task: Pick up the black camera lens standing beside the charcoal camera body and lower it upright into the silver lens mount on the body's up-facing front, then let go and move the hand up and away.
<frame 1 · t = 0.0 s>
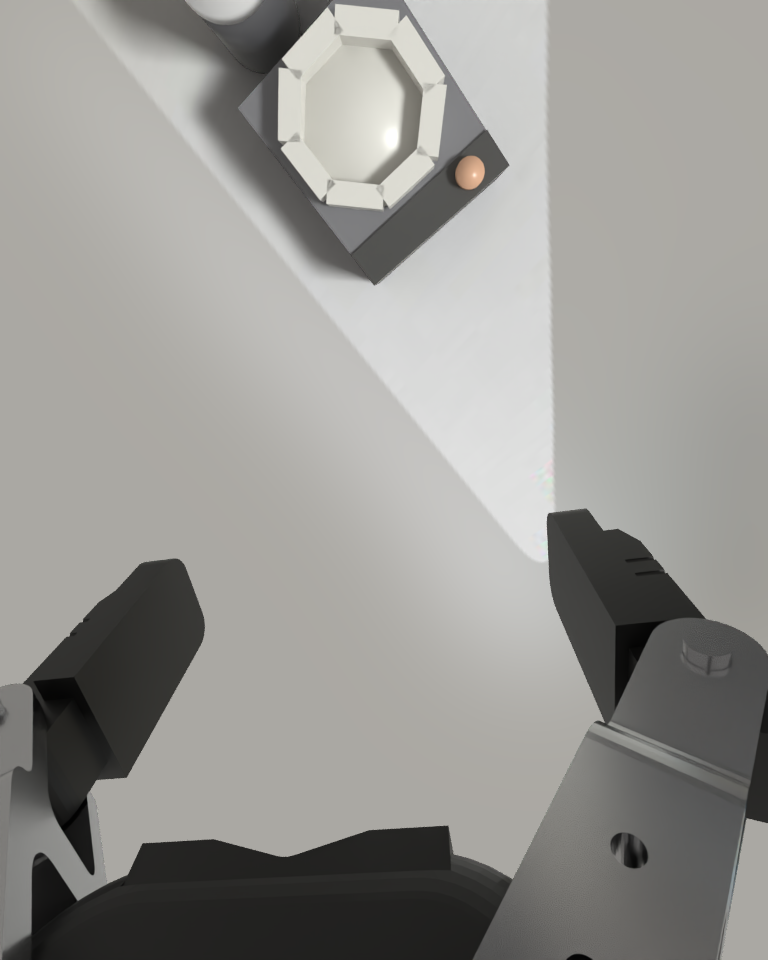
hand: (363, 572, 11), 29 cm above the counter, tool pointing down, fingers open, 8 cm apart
camera body: (379, 155, 33), on the counter
lens: (260, 24, 31), on the counter
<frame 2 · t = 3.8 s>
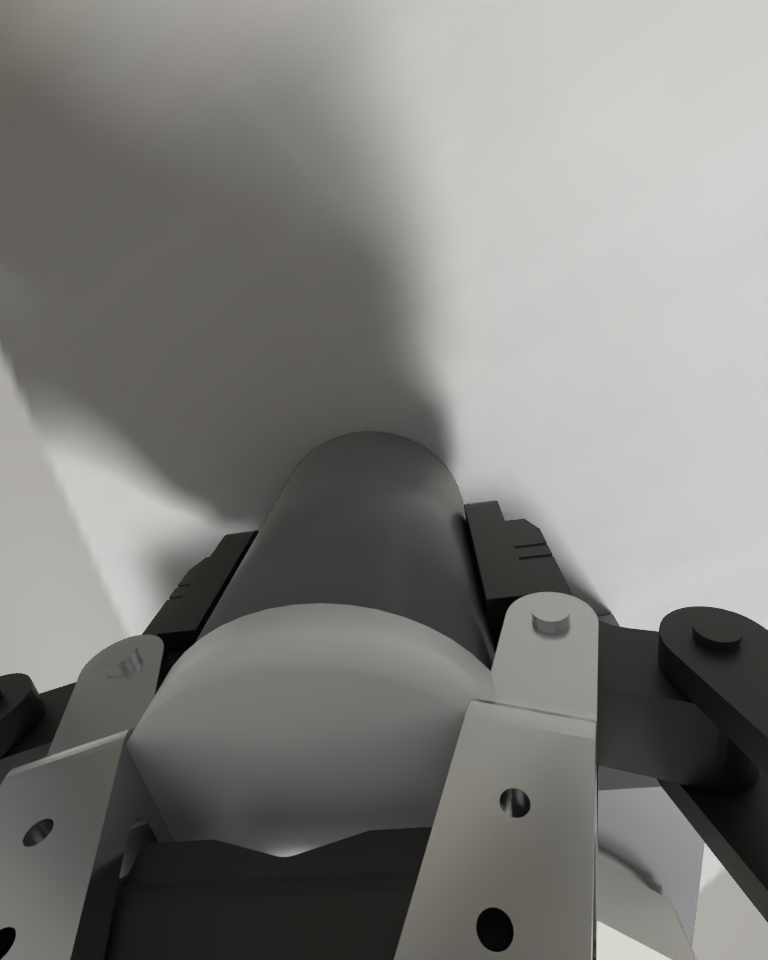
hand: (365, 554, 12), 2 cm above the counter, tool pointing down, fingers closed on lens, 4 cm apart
camera body: (457, 774, 17), on the counter
lens: (372, 518, 13), on the counter, touching gripper
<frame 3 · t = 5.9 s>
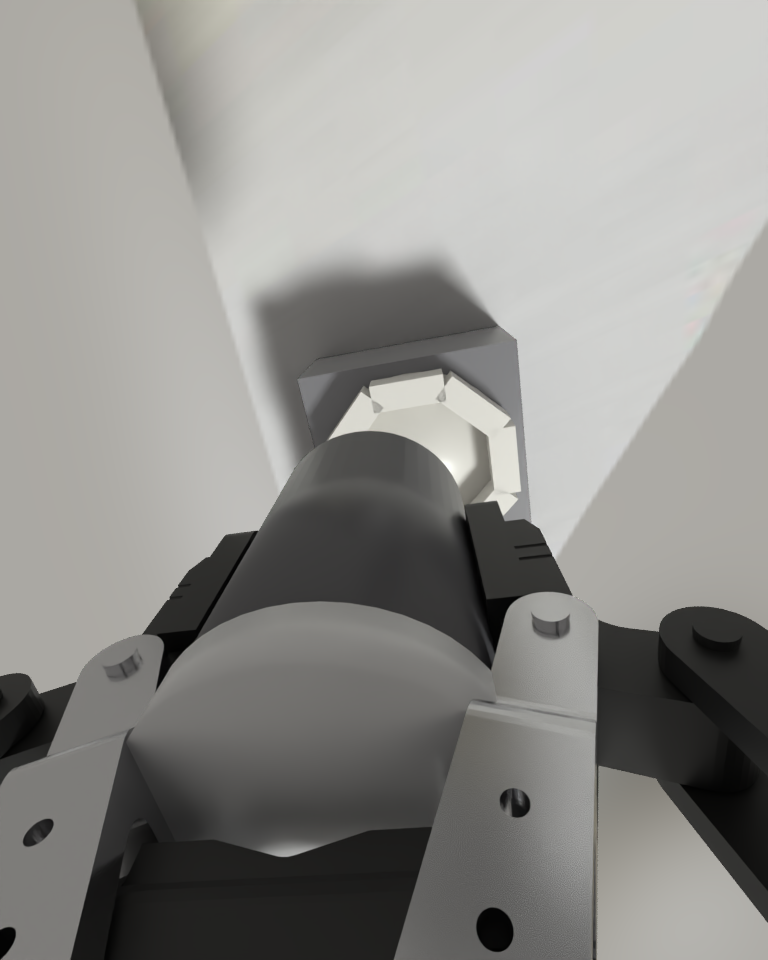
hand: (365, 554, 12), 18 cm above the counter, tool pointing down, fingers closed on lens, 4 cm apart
camera body: (422, 446, 29), on the counter
lens: (372, 517, 13), point 16 cm above the counter, touching gripper
when the fingers open (8 cm above the counter, at t = 8.2 s): lens stays where it is, resting on camera body.
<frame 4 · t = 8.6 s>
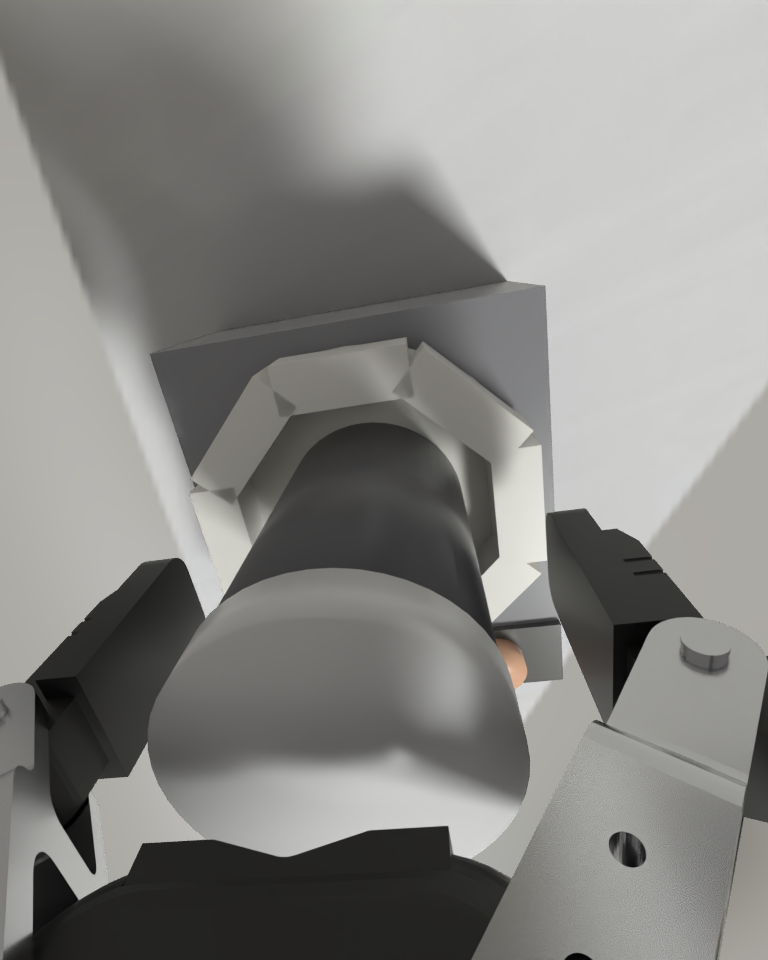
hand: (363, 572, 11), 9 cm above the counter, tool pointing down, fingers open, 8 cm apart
camera body: (387, 469, 19), on the counter
lens: (375, 505, 14), point 5 cm above the counter, touching camera body
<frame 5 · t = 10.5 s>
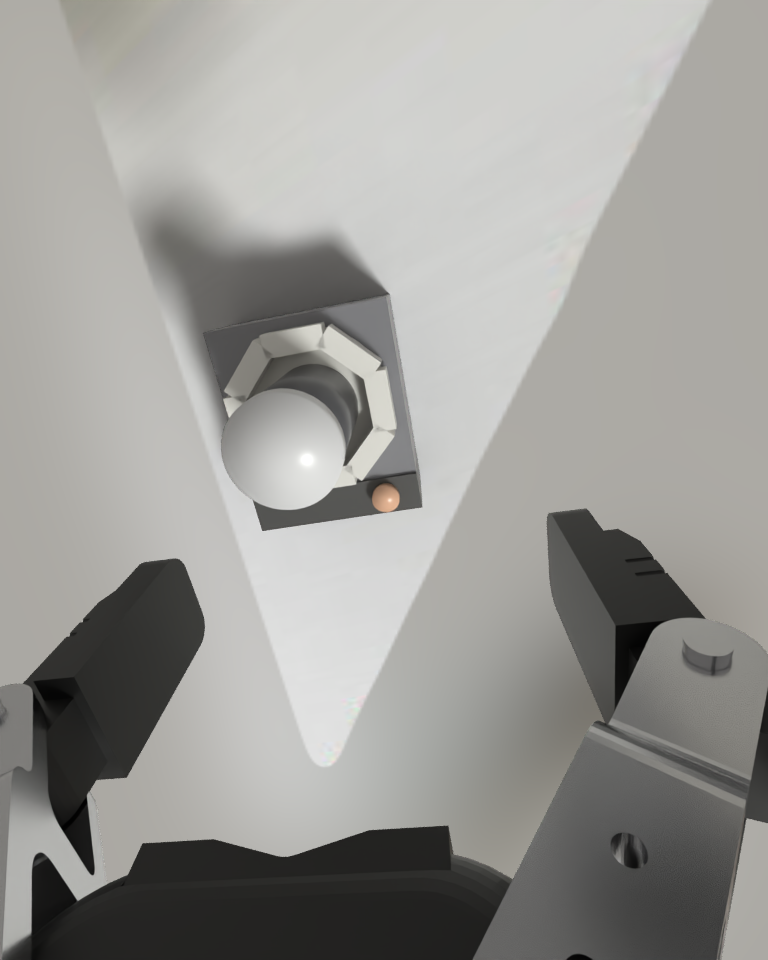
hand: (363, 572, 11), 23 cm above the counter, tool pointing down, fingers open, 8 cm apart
camera body: (331, 403, 33), on the counter
lens: (315, 407, 28), point 5 cm above the counter, touching camera body
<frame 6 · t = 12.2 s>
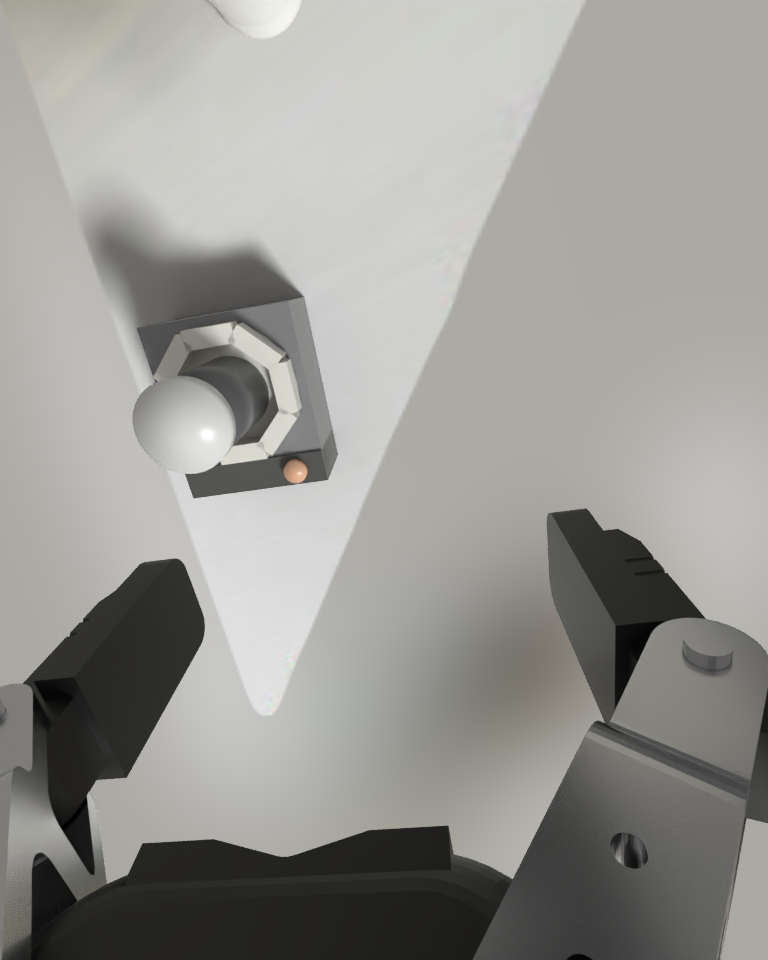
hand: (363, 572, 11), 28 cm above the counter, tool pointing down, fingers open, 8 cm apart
camera body: (258, 390, 38), on the counter
lens: (232, 392, 33), point 5 cm above the counter, touching camera body
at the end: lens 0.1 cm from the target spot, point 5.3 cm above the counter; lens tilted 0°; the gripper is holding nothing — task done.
